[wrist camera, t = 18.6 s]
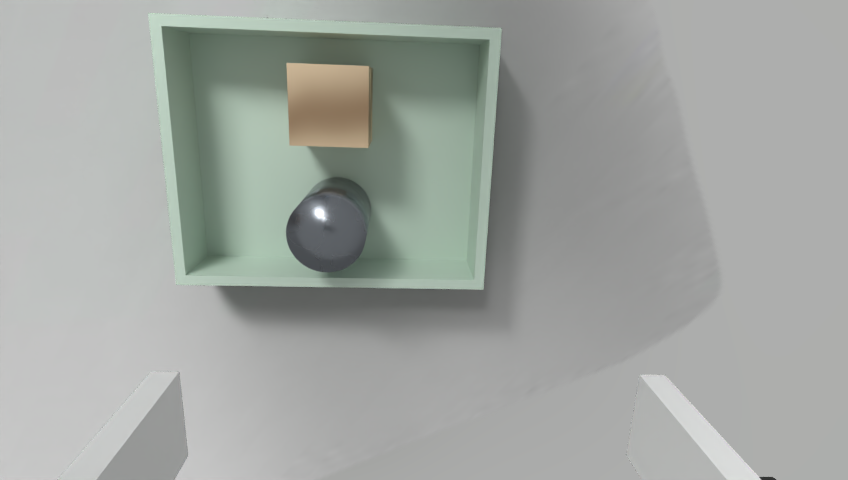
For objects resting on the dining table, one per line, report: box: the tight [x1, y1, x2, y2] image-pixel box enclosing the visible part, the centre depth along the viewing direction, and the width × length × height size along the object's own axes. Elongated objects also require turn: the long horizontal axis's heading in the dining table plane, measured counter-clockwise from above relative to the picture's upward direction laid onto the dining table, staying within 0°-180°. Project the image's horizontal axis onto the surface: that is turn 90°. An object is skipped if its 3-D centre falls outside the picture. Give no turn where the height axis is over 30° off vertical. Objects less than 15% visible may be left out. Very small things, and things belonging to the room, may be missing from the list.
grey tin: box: [286, 177, 371, 272], centre depth 37 cm, size 5×5×7 cm
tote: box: [148, 13, 502, 290], centre depth 37 cm, size 17×21×5 cm
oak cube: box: [287, 63, 373, 148], centre depth 35 cm, size 5×5×5 cm
